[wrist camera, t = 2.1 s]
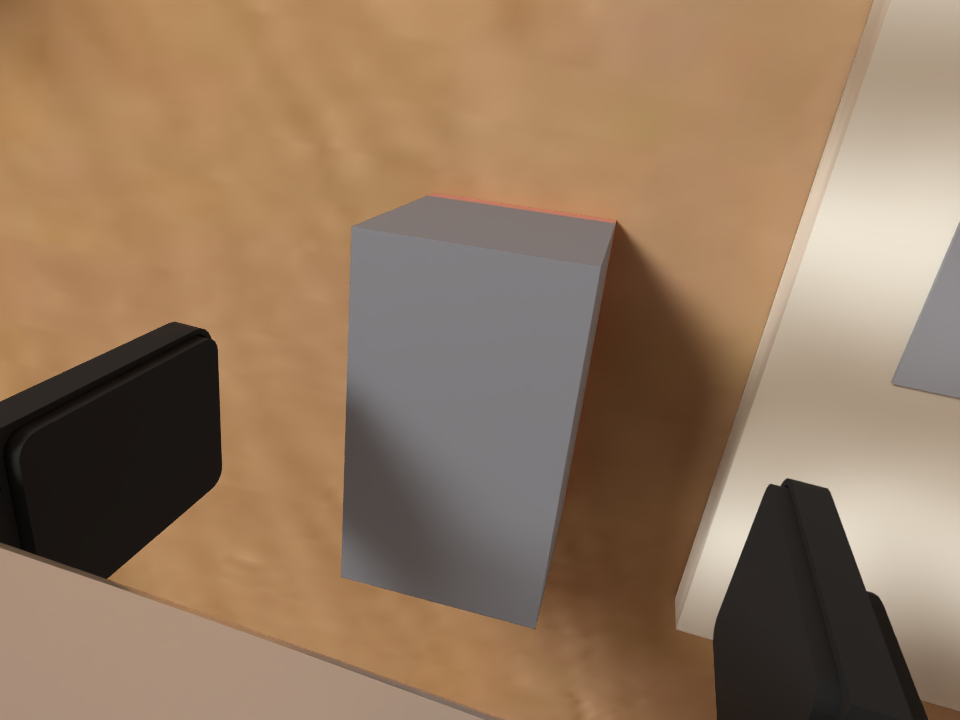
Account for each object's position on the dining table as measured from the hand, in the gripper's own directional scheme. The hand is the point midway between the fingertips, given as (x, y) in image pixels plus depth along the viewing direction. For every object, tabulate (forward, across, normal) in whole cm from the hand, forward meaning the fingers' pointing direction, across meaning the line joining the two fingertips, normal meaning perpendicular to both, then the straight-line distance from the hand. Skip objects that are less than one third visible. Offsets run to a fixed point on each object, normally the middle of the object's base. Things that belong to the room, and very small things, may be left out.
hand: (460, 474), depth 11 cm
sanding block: (+7, +1, +1) cm, 7 cm away
